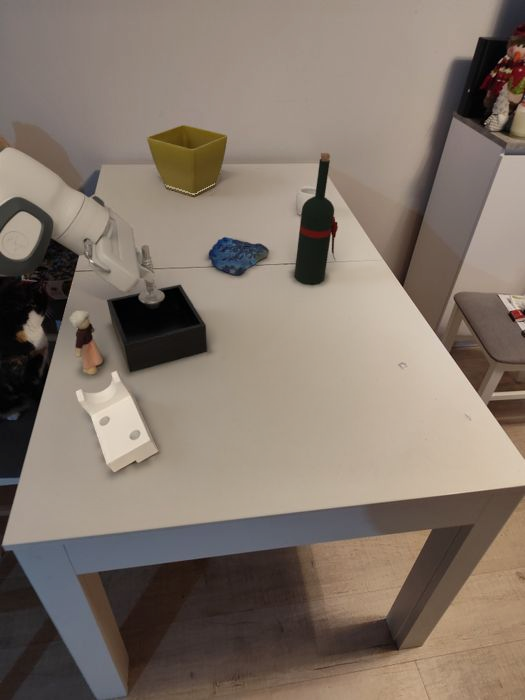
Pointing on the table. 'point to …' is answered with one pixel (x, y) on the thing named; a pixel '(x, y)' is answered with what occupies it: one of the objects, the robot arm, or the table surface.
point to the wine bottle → (316, 231)
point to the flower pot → (188, 157)
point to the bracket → (118, 424)
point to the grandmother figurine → (86, 342)
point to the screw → (150, 284)
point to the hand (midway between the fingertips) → (151, 272)
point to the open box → (157, 329)
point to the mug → (304, 196)
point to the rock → (236, 255)
